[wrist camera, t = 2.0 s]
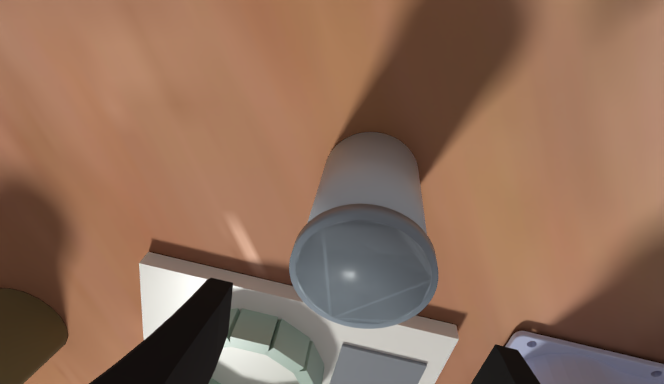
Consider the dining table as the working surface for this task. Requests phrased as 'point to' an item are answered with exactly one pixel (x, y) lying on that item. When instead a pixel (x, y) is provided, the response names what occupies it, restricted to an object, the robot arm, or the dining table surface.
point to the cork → (26, 335)
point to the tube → (366, 237)
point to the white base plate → (294, 333)
